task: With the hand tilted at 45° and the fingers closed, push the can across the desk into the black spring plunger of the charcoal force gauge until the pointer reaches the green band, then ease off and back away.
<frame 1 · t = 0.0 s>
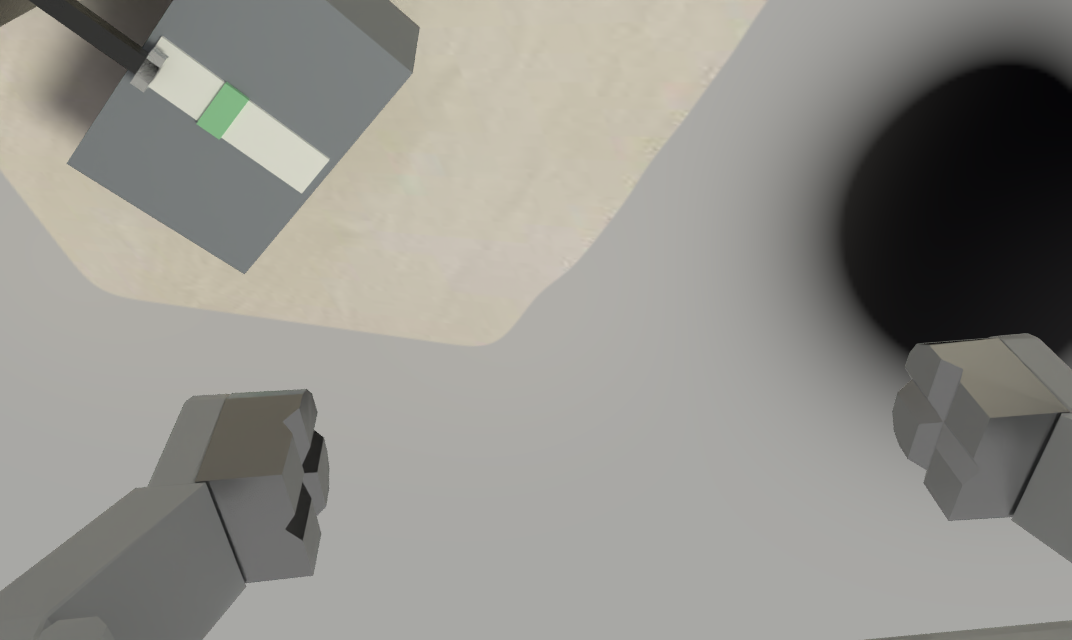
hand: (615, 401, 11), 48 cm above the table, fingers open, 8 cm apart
gauge housing: (190, 6, 52), on the table
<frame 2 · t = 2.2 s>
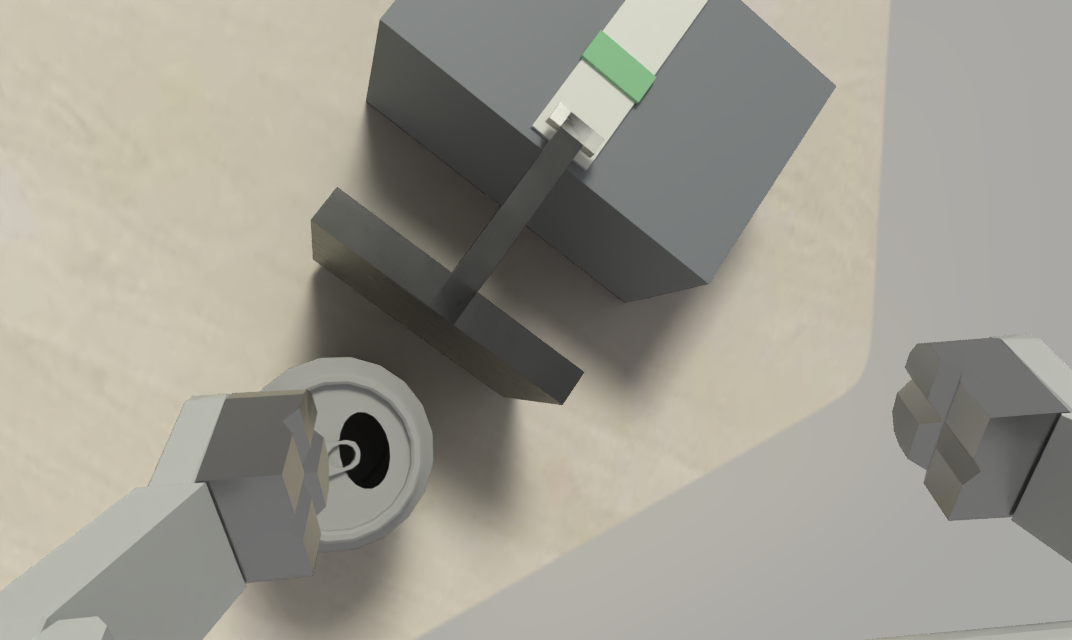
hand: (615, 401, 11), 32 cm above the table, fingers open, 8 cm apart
gauge housing: (500, 205, 43), on the table
can: (332, 433, 40), on the table
gauge plunger: (487, 237, 36), point 6 cm above the table, slide at 0.0 cm
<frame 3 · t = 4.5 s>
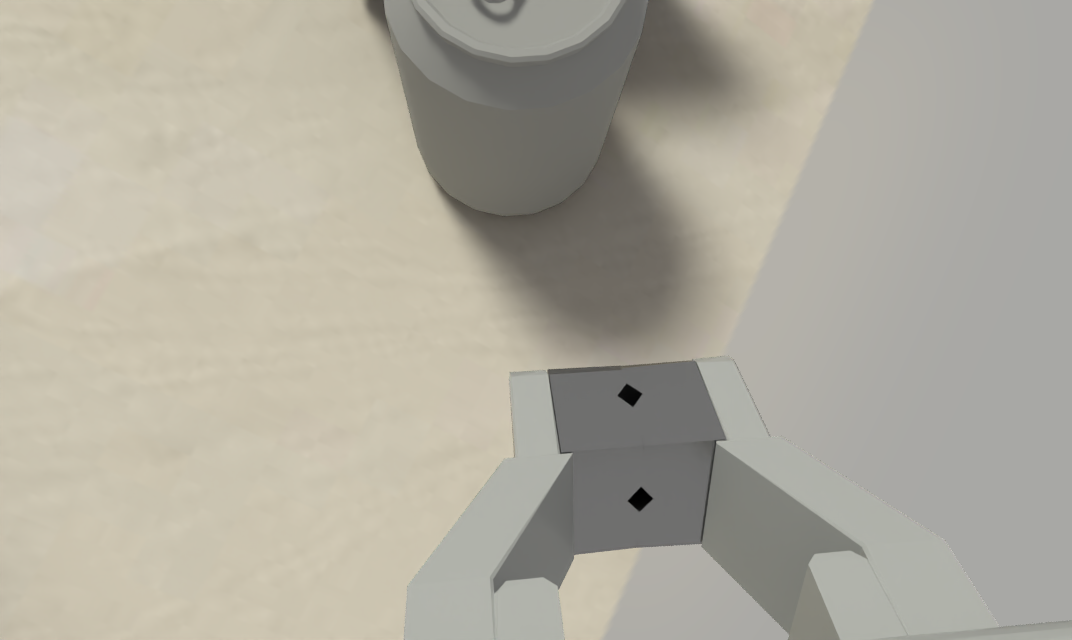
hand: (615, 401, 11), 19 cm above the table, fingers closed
can: (509, 137, 32), on the table
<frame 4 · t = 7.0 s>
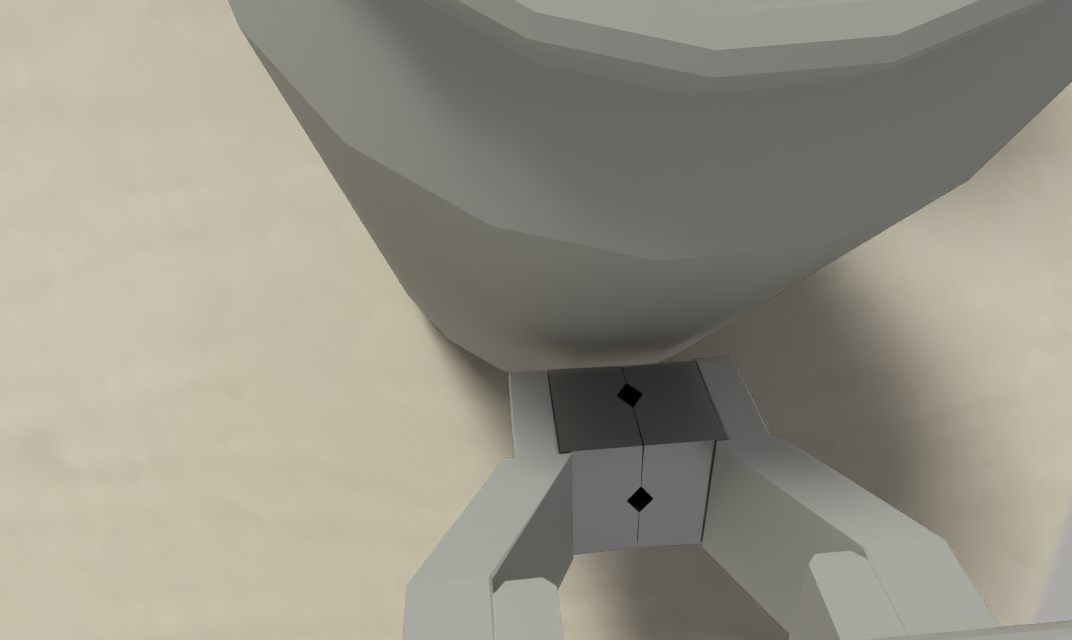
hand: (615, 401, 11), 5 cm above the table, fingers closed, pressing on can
can: (567, 209, 16), on the table, touching gripper
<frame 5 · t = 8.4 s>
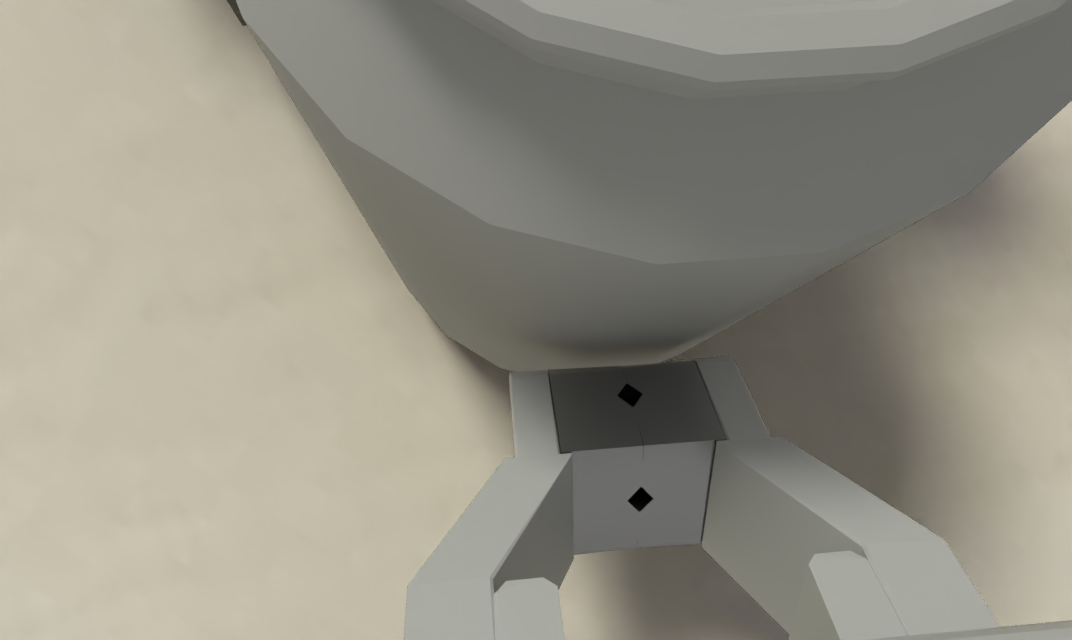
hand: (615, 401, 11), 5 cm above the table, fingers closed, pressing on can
can: (570, 208, 16), on the table, touching gauge plunger, gripper
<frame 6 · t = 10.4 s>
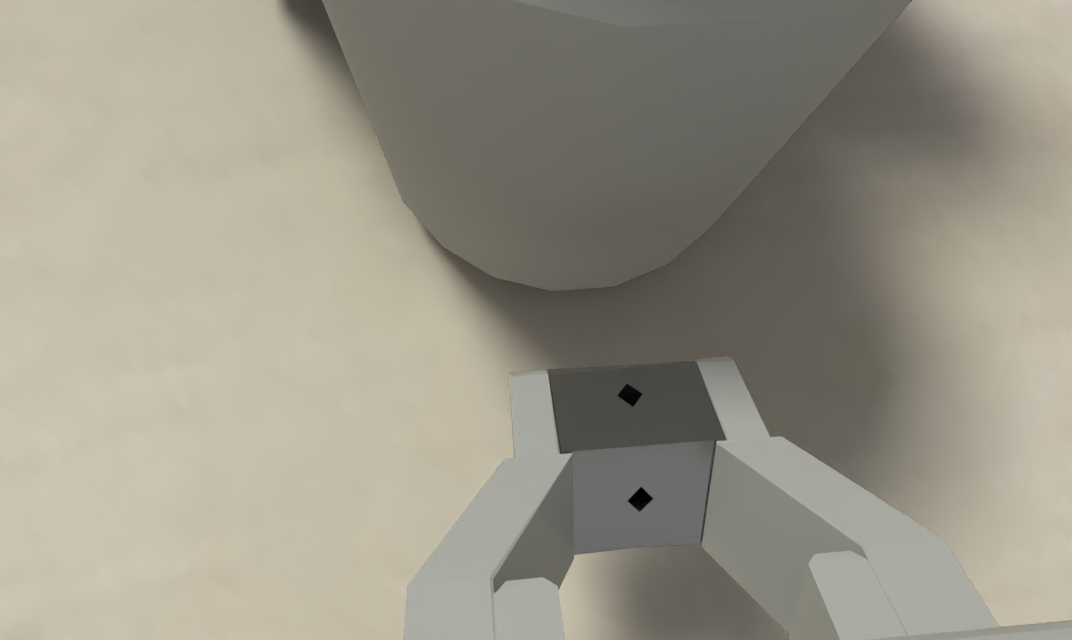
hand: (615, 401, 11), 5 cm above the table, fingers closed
can: (561, 132, 17), on the table, touching gauge plunger
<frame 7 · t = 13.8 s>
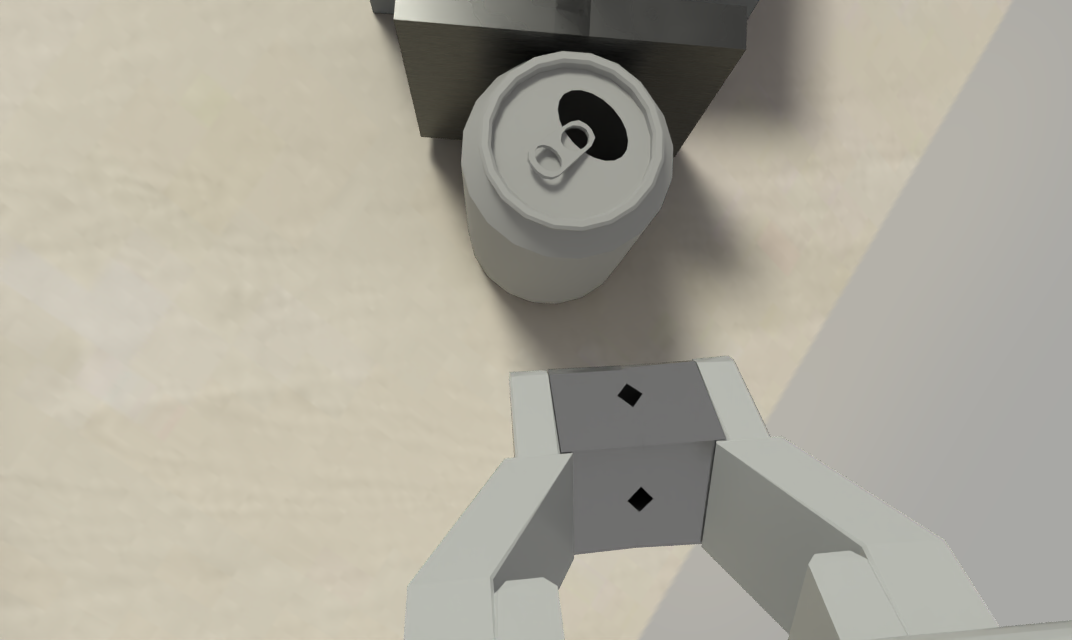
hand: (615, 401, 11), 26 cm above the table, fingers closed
gauge housing: (554, 28, 39), on the table
can: (546, 231, 38), on the table, touching gauge plunger
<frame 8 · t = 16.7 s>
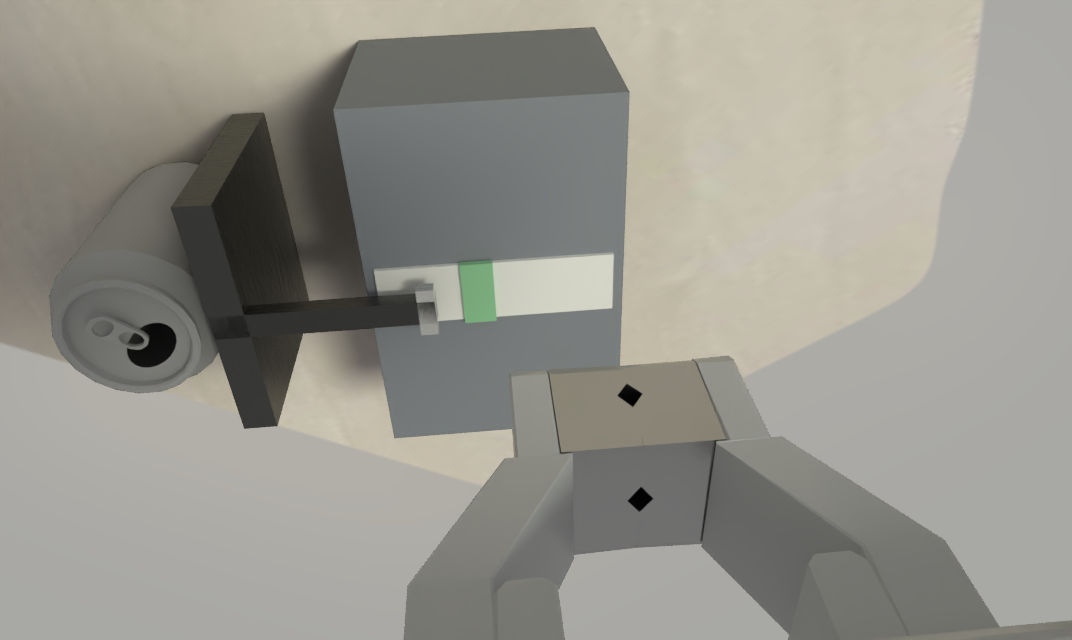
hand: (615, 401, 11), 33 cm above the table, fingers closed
gauge housing: (384, 201, 45), on the table
can: (200, 215, 45), on the table, touching gauge plunger
gauge plunger: (339, 261, 39), point 6 cm above the table, slide at 1.8 cm, touching can
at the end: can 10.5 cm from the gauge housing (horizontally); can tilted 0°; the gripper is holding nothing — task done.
